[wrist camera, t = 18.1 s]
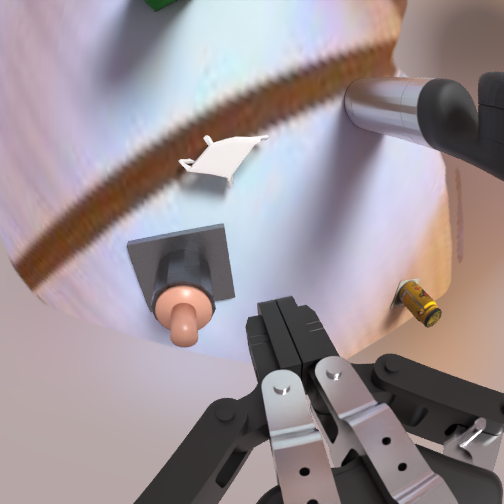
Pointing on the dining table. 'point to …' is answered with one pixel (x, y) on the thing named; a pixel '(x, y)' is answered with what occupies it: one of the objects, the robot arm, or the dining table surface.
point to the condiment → (417, 302)
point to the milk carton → (159, 3)
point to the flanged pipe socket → (184, 263)
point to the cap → (183, 313)
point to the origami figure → (223, 156)
